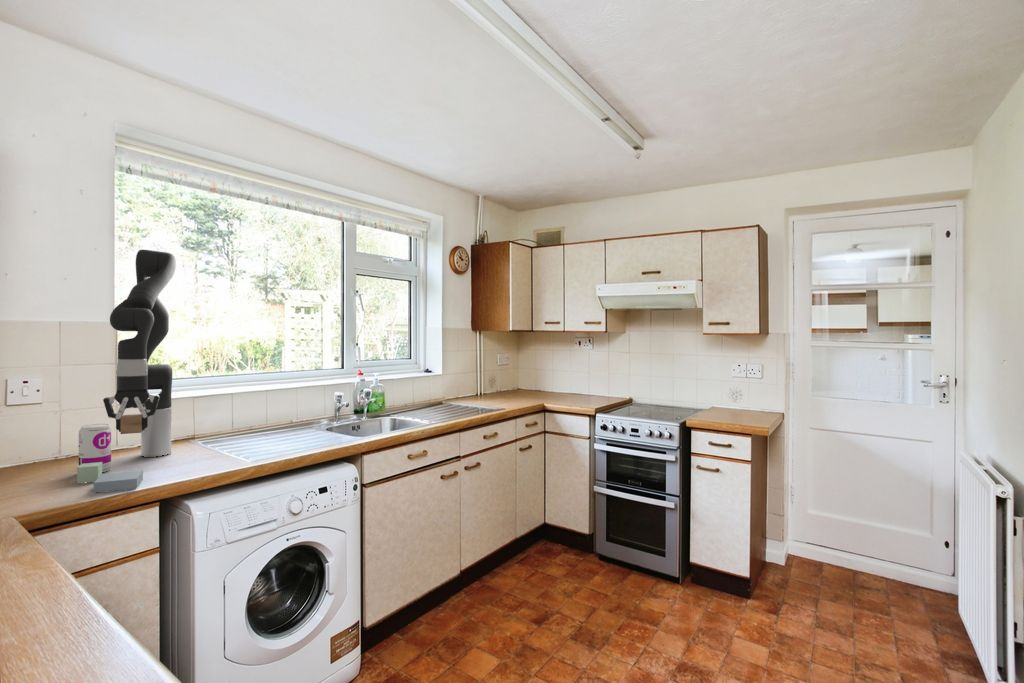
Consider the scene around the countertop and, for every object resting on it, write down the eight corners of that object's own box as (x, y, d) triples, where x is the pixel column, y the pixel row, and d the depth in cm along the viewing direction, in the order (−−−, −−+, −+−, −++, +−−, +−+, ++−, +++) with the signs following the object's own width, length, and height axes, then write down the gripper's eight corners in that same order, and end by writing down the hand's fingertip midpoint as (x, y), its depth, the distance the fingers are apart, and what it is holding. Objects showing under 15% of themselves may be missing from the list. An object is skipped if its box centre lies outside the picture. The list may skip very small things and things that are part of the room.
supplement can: (117, 470, 169) (117, 424, 168) (89, 476, 161) (89, 429, 161) (100, 467, 171) (100, 422, 171) (72, 473, 164) (72, 426, 163)
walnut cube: (123, 431, 156) (123, 414, 156) (143, 430, 158) (143, 413, 158) (120, 434, 151) (120, 417, 151) (141, 432, 154) (141, 416, 154)
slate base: (102, 483, 154) (102, 473, 154) (142, 479, 159) (142, 470, 159) (93, 493, 145) (93, 482, 145) (136, 488, 150) (136, 478, 150)
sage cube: (81, 479, 158) (81, 463, 158) (102, 477, 160) (102, 462, 160) (77, 484, 154) (77, 467, 153) (98, 482, 156) (98, 465, 156)
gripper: (162, 372, 161) (162, 426, 161) (105, 374, 154) (104, 430, 155) (159, 374, 155) (159, 430, 155) (99, 375, 148) (99, 434, 148)
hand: (132, 430), depth 155 cm, fingers closed on walnut cube, 5 cm apart
